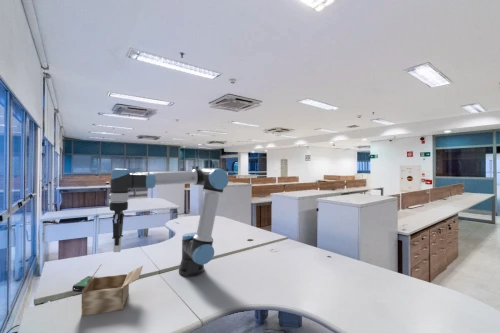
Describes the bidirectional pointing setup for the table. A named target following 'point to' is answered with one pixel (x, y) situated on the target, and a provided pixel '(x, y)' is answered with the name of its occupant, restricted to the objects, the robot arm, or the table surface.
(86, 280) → the disk drive
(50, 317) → the table surface
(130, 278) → the flap
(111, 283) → the carton
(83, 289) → the far side flap
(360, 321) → the table surface
